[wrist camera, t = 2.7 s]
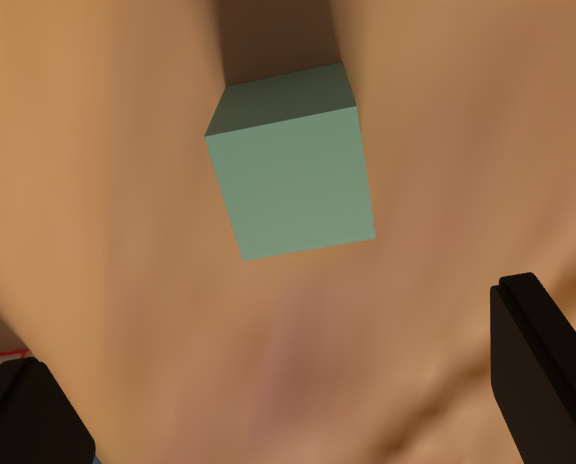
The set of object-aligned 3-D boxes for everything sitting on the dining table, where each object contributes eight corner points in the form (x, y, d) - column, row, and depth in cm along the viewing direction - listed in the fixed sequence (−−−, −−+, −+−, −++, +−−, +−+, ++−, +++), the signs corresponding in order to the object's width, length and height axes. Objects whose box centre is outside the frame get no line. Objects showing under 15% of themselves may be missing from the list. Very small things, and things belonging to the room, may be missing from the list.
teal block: (342, 61, 21) (356, 106, 16) (358, 170, 24) (375, 238, 18) (225, 86, 22) (204, 136, 17) (254, 189, 24) (242, 261, 19)
